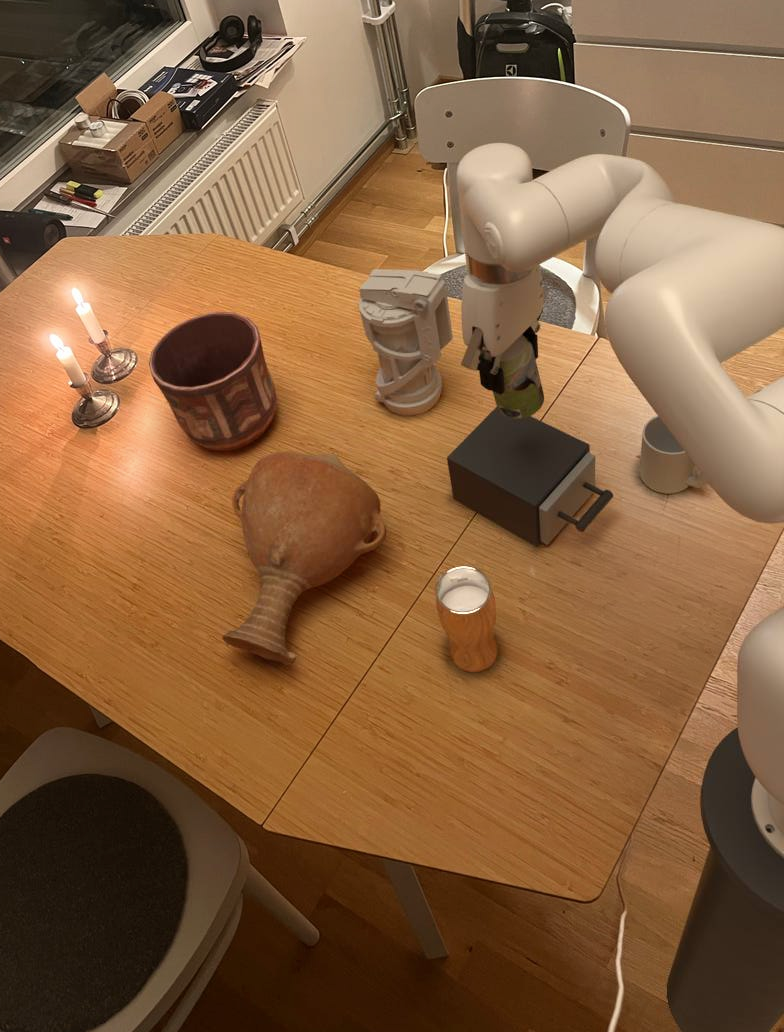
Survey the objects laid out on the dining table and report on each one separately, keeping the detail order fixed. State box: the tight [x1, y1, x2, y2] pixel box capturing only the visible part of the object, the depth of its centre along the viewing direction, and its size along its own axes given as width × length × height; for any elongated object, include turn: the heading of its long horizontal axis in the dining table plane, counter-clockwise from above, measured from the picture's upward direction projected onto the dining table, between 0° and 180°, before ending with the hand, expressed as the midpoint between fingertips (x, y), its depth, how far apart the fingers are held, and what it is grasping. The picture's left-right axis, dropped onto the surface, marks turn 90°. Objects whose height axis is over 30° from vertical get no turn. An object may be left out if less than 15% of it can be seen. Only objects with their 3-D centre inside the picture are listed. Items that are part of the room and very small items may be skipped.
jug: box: [222, 450, 387, 665], centre depth 124 cm, size 20×19×30 cm
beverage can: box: [484, 334, 545, 419], centre depth 113 cm, size 6×7×12 cm
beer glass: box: [434, 565, 499, 673], centre depth 112 cm, size 7×7×15 cm
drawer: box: [538, 452, 614, 546], centre depth 126 cm, size 18×11×8 cm, turn 45°
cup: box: [639, 415, 709, 495], centre depth 125 cm, size 7×10×9 cm
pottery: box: [148, 311, 278, 452], centre depth 148 cm, size 18×18×18 cm
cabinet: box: [446, 406, 591, 548], centre depth 129 cm, size 15×13×10 cm
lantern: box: [358, 268, 454, 417], centre depth 140 cm, size 13×10×25 cm
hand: (509, 371), depth 112 cm, fingers closed on beverage can, 6 cm apart
